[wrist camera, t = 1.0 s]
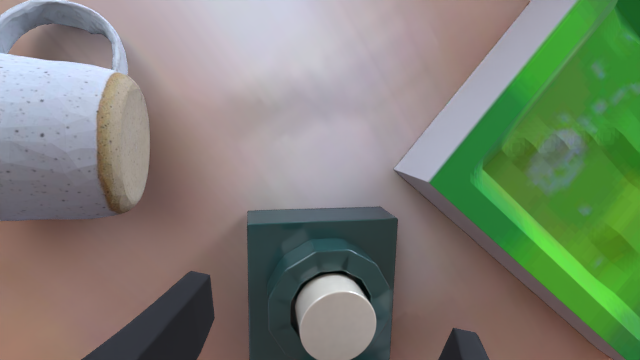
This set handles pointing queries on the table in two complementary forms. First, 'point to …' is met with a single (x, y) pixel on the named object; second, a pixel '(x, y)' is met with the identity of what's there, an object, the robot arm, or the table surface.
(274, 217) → the dark green button base
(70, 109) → the ceramic mug
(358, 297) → the white push button
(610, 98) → the tray
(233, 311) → the table surface
